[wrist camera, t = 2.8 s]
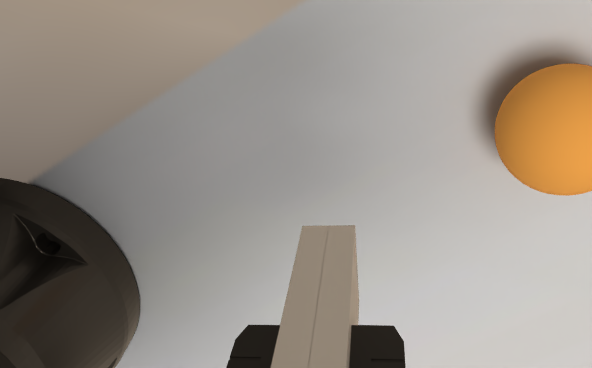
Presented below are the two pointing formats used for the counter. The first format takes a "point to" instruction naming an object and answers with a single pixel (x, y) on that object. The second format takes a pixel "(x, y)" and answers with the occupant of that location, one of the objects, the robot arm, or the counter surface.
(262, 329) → the robot arm
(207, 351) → the counter surface
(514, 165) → the ball
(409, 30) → the counter surface
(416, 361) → the counter surface
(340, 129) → the counter surface
